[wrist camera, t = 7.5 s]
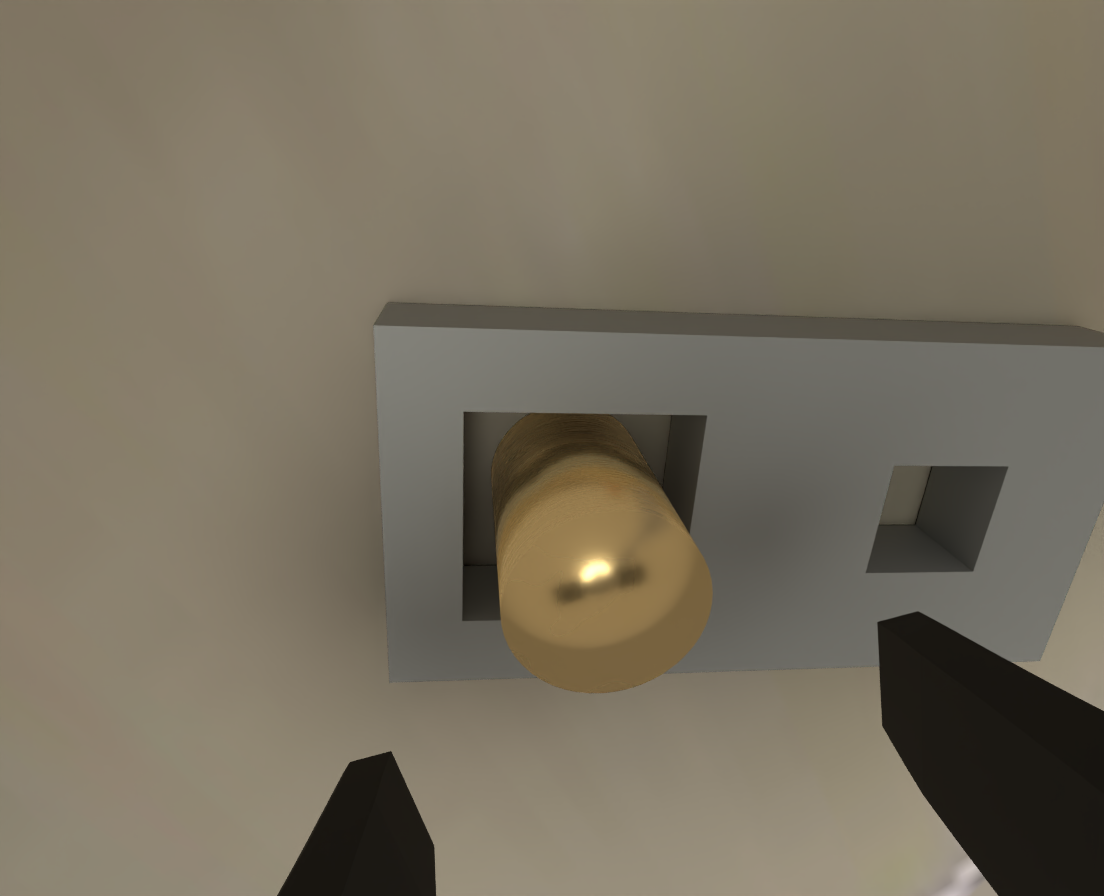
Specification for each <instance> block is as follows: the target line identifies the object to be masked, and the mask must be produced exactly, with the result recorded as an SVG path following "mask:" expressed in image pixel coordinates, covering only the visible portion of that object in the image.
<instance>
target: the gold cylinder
mask: <svg viewBox="0 0 1104 896" xmlns="http://www.w3.org/2000/svg"><path fill="white" fill-rule="evenodd" d="M491 482H492V497H493V512H494V527H495V541H496V556H497V571H498V585H499V600H500V615H501V625H502V629H503V633H504V637H505V639H506V642H507V644H508V646H509V648H510V650H511V651H512V653H513V655H514V656H515V657H516V659H517V660H518V661H519V662H520V663H521V664H522V666H524V667H525V668H526V669H527V670H528V671H529V672H530V673H532V674H533V675H535V676H536V677H538V678H539V679H541V680H543V681H545V682H547V683H549V684H551V685H553V686H556V687H559V688H562V689H566V690H570V691H575V692H584V693H607V692H615V691H620V690H625V689H629V688H632V687H635V686H638V685H641V684H643V683H646V682H648V681H650V680H652V679H654V678H656V677H658V676H660V675H661V674H663V673H665V672H666V671H668V670H669V669H670V668H672V667H673V666H674V665H676V664H677V663H678V662H679V661H680V660H681V659H682V658H683V657H685V655H686V654H687V653H688V652H689V651H690V650H691V649H692V648H693V646H694V645H695V643H696V642H697V640H698V639H699V638H700V636H701V634H702V632H703V630H704V628H705V626H706V623H707V621H708V618H709V615H710V611H711V606H712V596H713V589H712V580H711V576H710V572H709V568H708V566H707V564H706V562H705V559H704V557H703V556H702V554H701V552H700V551H699V549H698V547H697V546H696V544H695V542H694V541H693V539H692V537H691V536H690V534H689V532H688V531H687V529H686V527H685V526H684V524H683V522H682V521H681V519H680V517H679V516H678V514H677V512H676V511H675V509H674V507H673V506H672V504H671V502H670V501H669V499H668V497H667V496H666V494H665V492H664V491H663V489H662V487H661V486H660V484H659V482H658V481H657V479H656V477H655V476H654V474H653V472H652V471H651V469H650V467H649V466H648V464H647V462H646V461H645V459H644V457H643V456H642V454H641V452H640V451H639V449H638V447H637V446H636V444H635V442H634V441H633V439H632V437H631V436H630V434H629V433H628V431H627V430H626V429H625V427H624V426H623V425H622V424H621V423H620V422H619V421H617V420H616V419H615V418H614V417H612V416H611V415H609V414H583V413H530V414H529V415H527V416H525V417H524V418H522V419H521V420H520V421H518V422H517V423H516V424H515V425H514V426H513V427H512V428H511V429H510V430H509V431H508V432H507V433H506V435H505V436H504V438H503V439H502V440H501V442H500V444H499V446H498V448H497V450H496V453H495V455H494V458H493V463H492V470H491Z"/></svg>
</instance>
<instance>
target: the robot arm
mask: <svg viewBox="0 0 1104 896" xmlns="http://www.w3.org/2000/svg"><path fill="white" fill-rule="evenodd" d="M877 628H878V648H879V668H880V688H881V708H882V726H883V728H884V730H885V731H886V733H887V735H888V737H889V738H890V740H891V742H892V743H893V745H894V747H895V749H896V750H897V752H898V754H899V756H900V757H901V759H902V761H903V762H904V764H905V766H906V767H907V769H908V771H909V772H910V774H911V776H912V777H913V779H914V781H915V782H916V784H917V785H918V787H919V789H920V790H921V792H922V794H923V795H924V797H925V798H926V799H927V801H928V802H929V803H930V805H931V806H932V808H933V809H934V810H935V812H936V813H937V814H938V816H939V817H940V818H941V820H942V821H943V822H944V824H945V825H946V826H947V828H948V829H949V831H950V832H951V833H952V835H953V836H954V837H955V839H956V840H957V841H958V843H959V844H960V845H961V847H962V848H963V849H964V851H965V852H966V853H967V855H968V856H969V857H970V859H971V860H972V861H973V863H974V864H975V865H976V867H977V868H978V869H979V871H980V872H981V873H982V875H983V876H984V877H985V879H986V880H987V881H988V882H989V884H990V885H991V887H992V888H993V889H994V890H995V892H996V893H997V894H998V896H1104V711H1103V710H1101V709H1099V708H1097V707H1095V706H1093V705H1091V704H1089V703H1087V702H1085V701H1083V700H1081V699H1079V698H1077V697H1075V696H1073V695H1071V694H1070V693H1068V692H1066V691H1064V690H1062V689H1060V688H1058V687H1056V686H1054V685H1052V684H1051V683H1049V682H1047V681H1045V680H1043V679H1041V678H1039V677H1038V676H1036V675H1034V674H1032V673H1030V672H1028V671H1026V670H1025V669H1023V668H1021V667H1019V666H1017V665H1015V664H1014V663H1012V662H1010V661H1008V660H1006V659H1005V658H1003V657H1001V656H999V655H997V654H995V653H994V652H992V651H990V650H988V649H986V648H985V647H983V646H981V645H979V644H977V643H976V642H974V641H972V640H970V639H968V638H967V637H965V636H963V635H961V634H959V633H958V632H956V631H954V630H952V629H950V628H949V627H947V626H945V625H943V624H941V623H940V622H938V621H936V620H934V619H932V618H930V617H928V616H927V615H925V614H923V613H921V612H919V611H916V612H913V613H909V614H905V615H901V616H898V617H894V618H890V619H886V620H883V621H879V622H877ZM277 896H436V881H435V854H434V844H433V842H432V840H431V838H430V835H429V833H428V831H427V829H426V827H425V824H424V822H423V820H422V818H421V816H420V813H419V811H418V809H417V807H416V805H415V802H414V800H413V798H412V796H411V794H410V791H409V789H408V787H407V785H406V783H405V780H404V778H403V776H402V774H401V772H400V769H399V767H398V765H397V763H396V761H395V758H394V756H393V754H392V752H391V751H390V752H386V753H382V754H379V755H375V756H371V757H367V758H364V759H360V760H356V761H352V762H350V763H349V765H348V766H347V768H346V769H345V771H344V773H343V775H342V777H341V778H340V780H339V782H338V784H337V786H336V788H335V790H334V791H333V793H332V795H331V797H330V799H329V801H328V803H327V805H326V807H325V809H324V810H323V812H322V814H321V816H320V818H319V820H318V822H317V824H316V826H315V828H314V829H313V831H312V833H311V835H310V837H309V839H308V841H307V842H306V844H305V846H304V848H303V850H302V852H301V854H300V855H299V857H298V859H297V861H296V863H295V865H294V867H293V868H292V870H291V872H290V874H289V876H288V877H287V879H286V881H285V883H284V884H283V886H282V888H281V890H280V892H279V893H278V895H277Z"/></svg>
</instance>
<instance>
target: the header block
mask: <svg viewBox="0 0 1104 896" xmlns="http://www.w3.org/2000/svg"><path fill="white" fill-rule="evenodd" d="M373 328H374V351H375V373H376V395H377V418H378V440H379V462H380V485H381V507H382V530H383V552H384V574H385V597H386V619H387V641H388V664H389V683H392V682H422V681H452V680H483V679H513V678H538V677H536V676H535V675H533V674H532V673H530V672H529V671H528V670H527V669H526V668H525V667H524V666H522V664H521V663H520V662H519V661H518V660H517V659H516V657H515V656H514V655H513V653H512V651H511V650H510V648H509V646H508V644H507V642H506V639H505V637H504V633H503V629H502V625H501V615H500V600H499V585H498V571H497V565H495V566H463V530H464V412H517V413H583V414H649V415H672V419H671V427H670V435H669V443H668V451H667V458H666V466H665V474H664V482H663V491H664V492H665V494H666V496H667V497H668V499H669V501H670V502H671V504H672V506H673V507H674V509H675V511H676V512H677V514H678V516H679V517H680V519H681V521H682V522H683V524H684V526H685V527H686V529H687V531H688V532H689V534H690V536H691V537H692V539H693V541H694V542H695V544H696V546H697V547H698V549H699V551H700V552H701V554H702V556H703V557H704V559H705V562H706V564H707V566H708V568H709V572H710V576H711V580H712V589H713V596H712V606H711V611H710V615H709V618H708V621H707V623H706V626H705V628H704V630H703V632H702V634H701V636H700V638H699V639H698V640H697V642H696V643H695V645H694V646H693V648H692V649H691V650H690V651H689V652H688V653H687V654H686V655H685V657H683V658H682V659H681V660H680V661H679V662H678V663H677V664H676V665H674V666H673V667H672V668H670V669H669V670H668V671H666V672H665V673H694V672H725V671H755V670H785V669H816V668H846V667H876V666H879V648H878V628H877V622H879V621H883V620H886V619H890V618H894V617H898V616H901V615H905V614H909V613H913V612H916V611H919V612H921V613H923V614H925V615H927V616H928V617H930V618H932V619H934V620H936V621H938V622H940V623H941V624H943V625H945V626H947V627H949V628H950V629H952V630H954V631H956V632H958V633H959V634H961V635H963V636H965V637H967V638H968V639H970V640H972V641H974V642H976V643H977V644H979V645H981V646H983V647H985V648H986V649H988V650H990V651H992V652H994V653H995V654H997V655H999V656H1001V657H1003V658H1005V659H1006V660H1008V661H1010V662H1027V661H1040V660H1041V657H1042V655H1043V652H1044V650H1045V647H1046V645H1047V642H1048V640H1049V637H1050V635H1051V632H1052V630H1053V627H1054V625H1055V622H1056V620H1057V617H1058V615H1059V613H1060V610H1061V608H1062V605H1063V603H1064V600H1065V598H1066V595H1067V593H1068V590H1069V588H1070V585H1071V583H1072V580H1073V578H1074V575H1075V573H1076V570H1077V568H1078V565H1079V563H1080V560H1081V558H1082V555H1083V553H1084V550H1085V548H1086V545H1087V543H1088V541H1089V538H1090V536H1091V533H1092V531H1093V528H1094V526H1095V523H1096V521H1097V518H1098V516H1099V513H1100V511H1101V508H1102V506H1103V503H1104V333H1102V332H1098V331H1094V330H1090V329H1087V328H1083V327H1079V326H1060V325H1030V324H1001V323H972V322H943V321H913V320H884V319H855V318H826V317H796V316H767V315H738V314H709V313H679V312H650V311H621V310H592V309H562V308H533V307H504V306H475V305H445V304H416V303H387V304H386V306H385V307H384V309H383V311H382V312H381V314H380V315H379V317H378V319H377V320H376V322H375V324H374V325H373ZM894 466H933V467H932V470H931V474H930V477H929V481H928V484H927V487H926V491H925V494H924V498H923V501H922V505H921V508H920V512H919V515H918V518H917V522H916V525H879V521H880V517H881V514H882V510H883V506H884V502H885V499H886V495H887V491H888V487H889V484H890V480H891V476H892V472H893V469H894ZM663 674H664V673H663Z"/></svg>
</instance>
